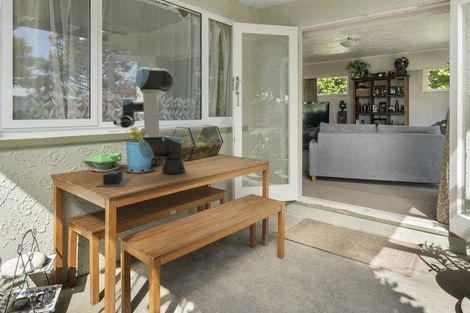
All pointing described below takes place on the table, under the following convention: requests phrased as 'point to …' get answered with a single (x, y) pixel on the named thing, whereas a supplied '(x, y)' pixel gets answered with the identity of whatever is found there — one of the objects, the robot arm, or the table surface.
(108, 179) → the box
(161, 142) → the robot arm
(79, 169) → the table surface
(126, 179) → the felt mat
